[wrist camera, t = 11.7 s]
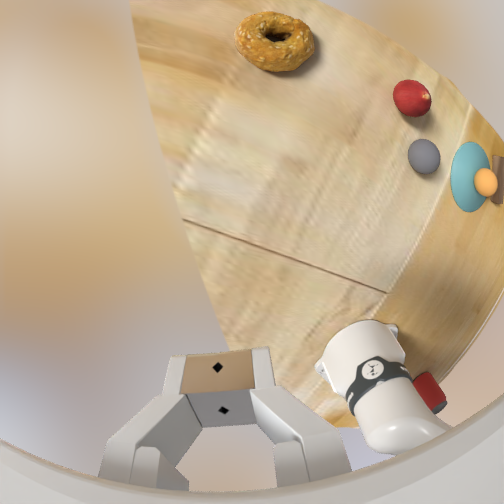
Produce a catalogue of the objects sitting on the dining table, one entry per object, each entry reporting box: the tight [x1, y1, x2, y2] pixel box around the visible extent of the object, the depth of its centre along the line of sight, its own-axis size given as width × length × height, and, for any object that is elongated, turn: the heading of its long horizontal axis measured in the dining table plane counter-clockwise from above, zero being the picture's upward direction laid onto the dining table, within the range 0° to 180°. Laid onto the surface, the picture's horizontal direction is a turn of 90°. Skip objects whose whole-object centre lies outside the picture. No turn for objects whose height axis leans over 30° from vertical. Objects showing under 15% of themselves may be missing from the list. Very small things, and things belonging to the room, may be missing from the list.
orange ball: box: [474, 168, 498, 197], centre depth 35 cm, size 6×6×6 cm
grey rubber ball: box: [408, 139, 440, 174], centre depth 33 cm, size 6×6×6 cm
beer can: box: [412, 372, 447, 415], centre depth 53 cm, size 7×7×12 cm
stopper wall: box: [491, 155, 504, 204], centre depth 37 cm, size 2×10×2 cm, turn 7°
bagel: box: [234, 12, 315, 72], centre depth 27 cm, size 10×11×5 cm
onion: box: [393, 80, 432, 117], centre depth 29 cm, size 6×6×8 cm
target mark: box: [451, 142, 490, 212], centre depth 37 cm, size 14×14×1 cm
